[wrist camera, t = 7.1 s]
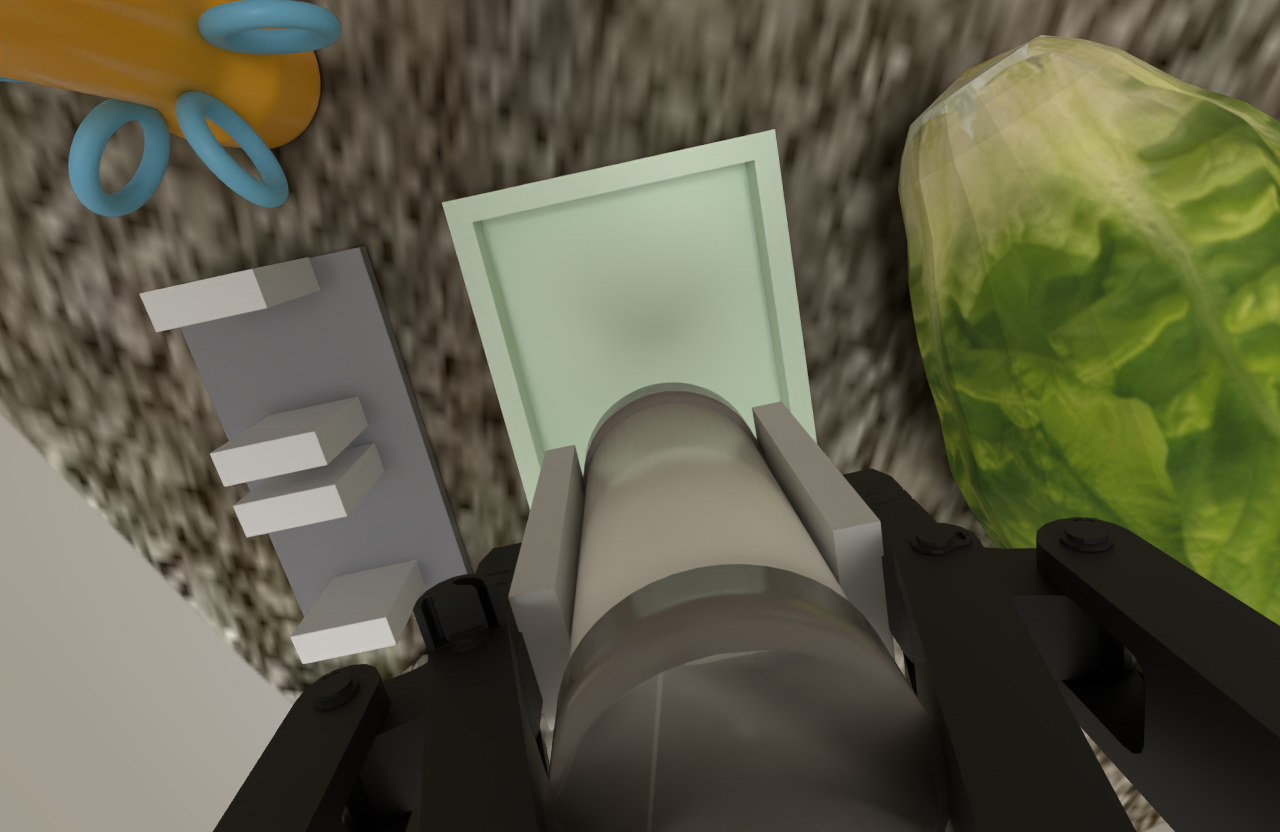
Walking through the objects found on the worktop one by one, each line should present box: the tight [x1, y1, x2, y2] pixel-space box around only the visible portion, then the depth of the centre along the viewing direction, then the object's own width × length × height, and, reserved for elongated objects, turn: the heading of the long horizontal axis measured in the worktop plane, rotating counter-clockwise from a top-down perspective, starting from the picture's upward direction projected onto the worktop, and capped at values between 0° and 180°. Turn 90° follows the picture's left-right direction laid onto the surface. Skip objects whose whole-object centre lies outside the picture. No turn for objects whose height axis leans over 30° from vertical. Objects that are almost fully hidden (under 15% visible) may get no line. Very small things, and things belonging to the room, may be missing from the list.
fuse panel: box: [140, 246, 473, 664], centre depth 31 cm, size 18×9×6 cm, turn 12°
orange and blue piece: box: [0, 0, 341, 217], centre depth 21 cm, size 12×10×15 cm
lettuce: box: [898, 35, 1280, 626], centre depth 26 cm, size 17×23×16 cm
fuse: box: [544, 382, 949, 832], centre depth 13 cm, size 5×5×11 cm
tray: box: [442, 129, 817, 510], centre depth 32 cm, size 16×14×2 cm
